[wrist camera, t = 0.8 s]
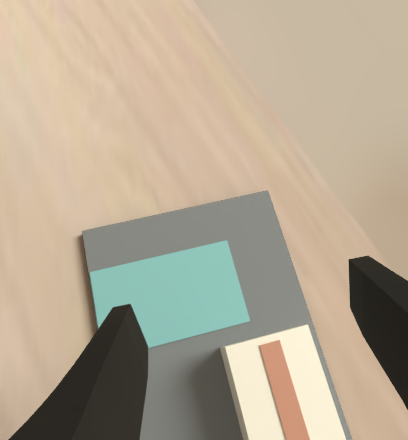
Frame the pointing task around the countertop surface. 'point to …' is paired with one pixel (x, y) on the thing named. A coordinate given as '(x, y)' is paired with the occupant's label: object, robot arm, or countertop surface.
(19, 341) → the countertop surface
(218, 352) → the mat
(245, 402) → the card box
